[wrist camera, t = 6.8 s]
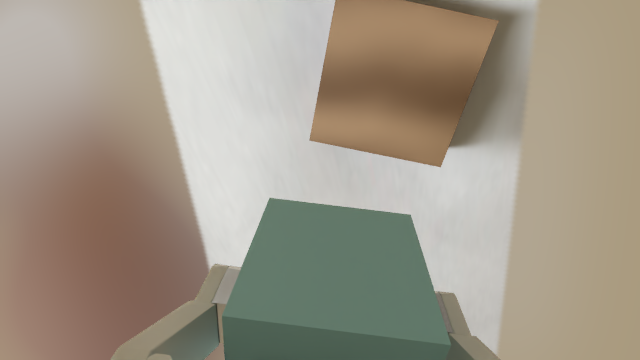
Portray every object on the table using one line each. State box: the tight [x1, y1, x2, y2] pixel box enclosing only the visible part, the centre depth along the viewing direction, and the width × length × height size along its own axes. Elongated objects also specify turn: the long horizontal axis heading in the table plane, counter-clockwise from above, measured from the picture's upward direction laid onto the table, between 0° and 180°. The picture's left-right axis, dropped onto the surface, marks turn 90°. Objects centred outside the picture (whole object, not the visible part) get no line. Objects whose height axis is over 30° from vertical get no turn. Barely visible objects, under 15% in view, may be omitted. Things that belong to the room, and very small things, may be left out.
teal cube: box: [222, 198, 451, 360], centre depth 10 cm, size 5×5×5 cm
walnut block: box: [310, 0, 499, 167], centre depth 24 cm, size 10×10×4 cm
